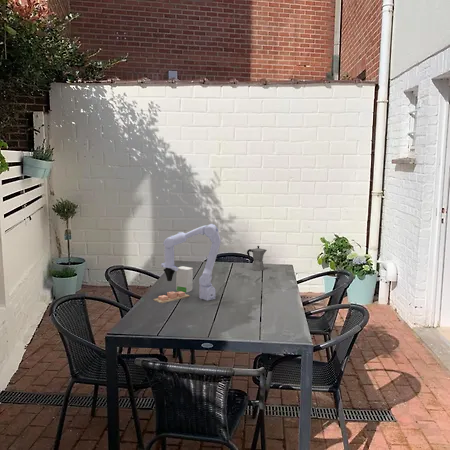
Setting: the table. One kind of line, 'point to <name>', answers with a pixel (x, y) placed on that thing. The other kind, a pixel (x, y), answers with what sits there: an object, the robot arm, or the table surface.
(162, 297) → the tile three
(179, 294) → the tile one
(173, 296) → the tile two
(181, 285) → the skincare box
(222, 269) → the table surface
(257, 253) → the coffeepot
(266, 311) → the table surface
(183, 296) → the board
